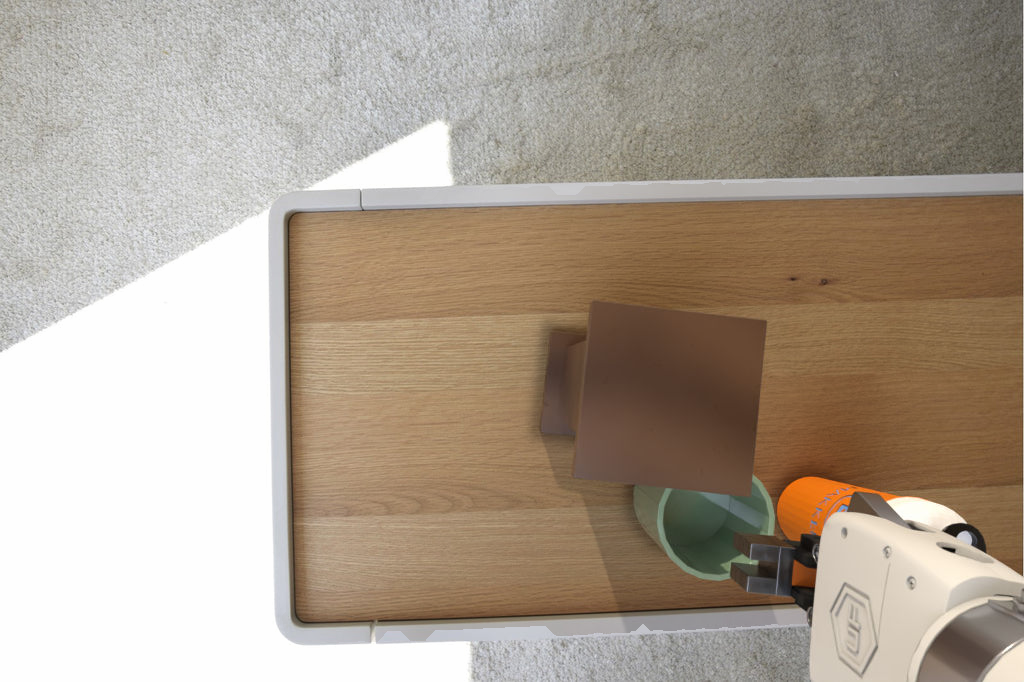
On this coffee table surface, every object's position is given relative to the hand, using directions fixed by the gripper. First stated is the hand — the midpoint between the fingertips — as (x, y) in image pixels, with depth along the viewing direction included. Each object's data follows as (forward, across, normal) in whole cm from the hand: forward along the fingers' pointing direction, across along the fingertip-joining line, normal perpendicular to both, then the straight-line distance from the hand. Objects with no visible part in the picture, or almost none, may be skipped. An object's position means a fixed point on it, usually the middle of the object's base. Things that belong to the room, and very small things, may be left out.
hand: (801, 564), depth 43 cm
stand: (+23, -10, -11) cm, 27 cm away
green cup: (+23, 0, -1) cm, 23 cm away
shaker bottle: (+23, 0, +12) cm, 26 cm away
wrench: (+1, 0, -1) cm, 1 cm away
